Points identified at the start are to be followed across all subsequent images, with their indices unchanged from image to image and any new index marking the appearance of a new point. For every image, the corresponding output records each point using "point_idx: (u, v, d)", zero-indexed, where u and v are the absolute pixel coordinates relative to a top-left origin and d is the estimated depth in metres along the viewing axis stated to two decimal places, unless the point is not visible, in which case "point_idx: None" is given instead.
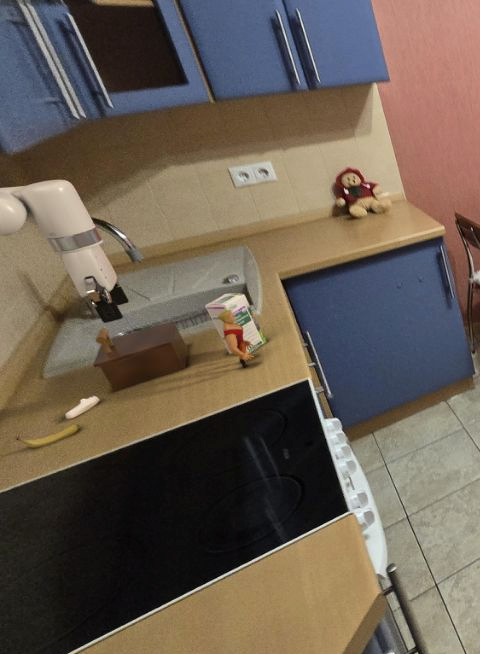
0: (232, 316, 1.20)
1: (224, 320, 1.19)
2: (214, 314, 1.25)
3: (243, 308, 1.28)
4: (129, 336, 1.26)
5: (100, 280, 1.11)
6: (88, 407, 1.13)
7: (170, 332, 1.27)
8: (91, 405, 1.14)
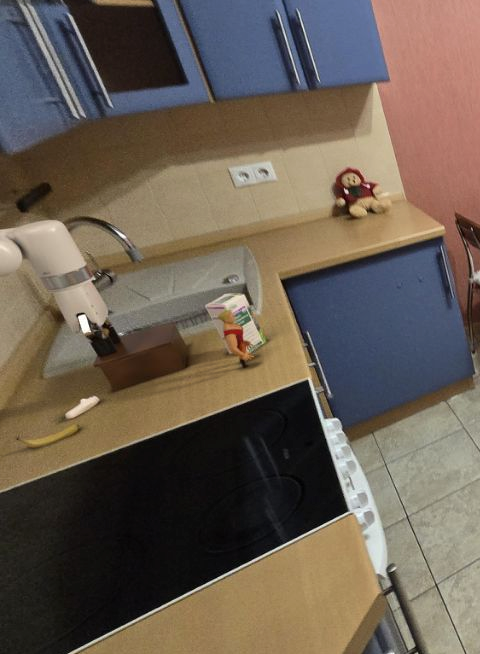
0: (232, 316, 1.20)
1: (224, 320, 1.19)
2: (214, 314, 1.25)
3: (243, 308, 1.28)
4: (129, 336, 1.26)
5: (91, 316, 1.14)
6: (88, 407, 1.13)
7: (170, 332, 1.27)
8: (91, 405, 1.14)
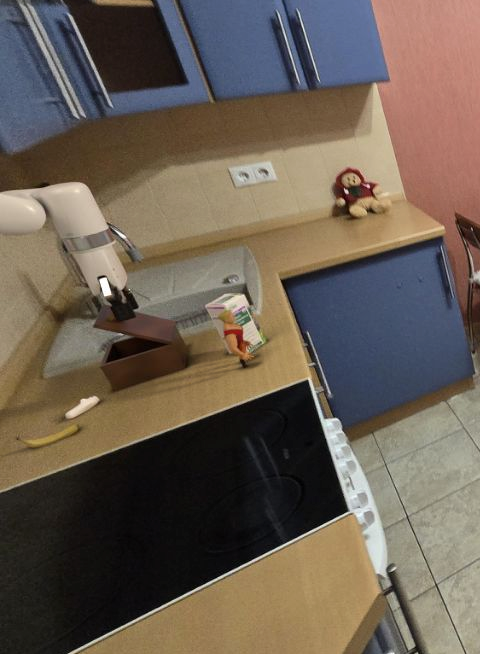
0: (232, 316, 1.20)
1: (224, 320, 1.19)
2: (214, 314, 1.25)
3: (243, 308, 1.28)
4: None
5: (112, 279, 1.14)
6: (88, 407, 1.13)
7: (172, 331, 1.27)
8: (91, 405, 1.14)
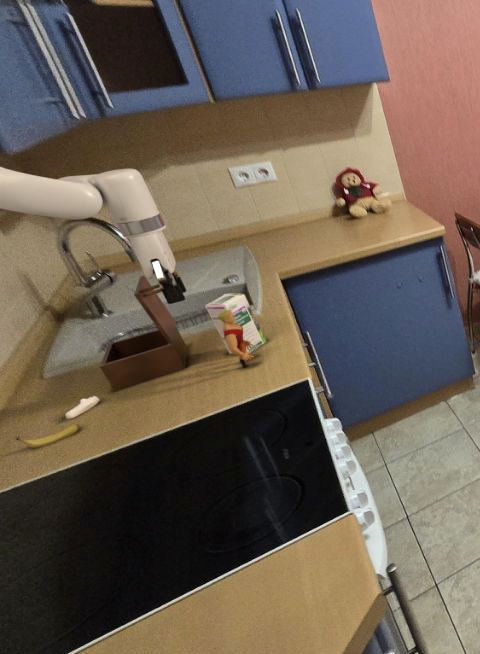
0: (232, 316, 1.20)
1: (224, 320, 1.19)
2: (214, 314, 1.25)
3: (243, 308, 1.28)
4: (156, 295, 1.27)
5: (164, 262, 1.19)
6: (88, 407, 1.13)
7: (173, 332, 1.27)
8: (91, 405, 1.14)
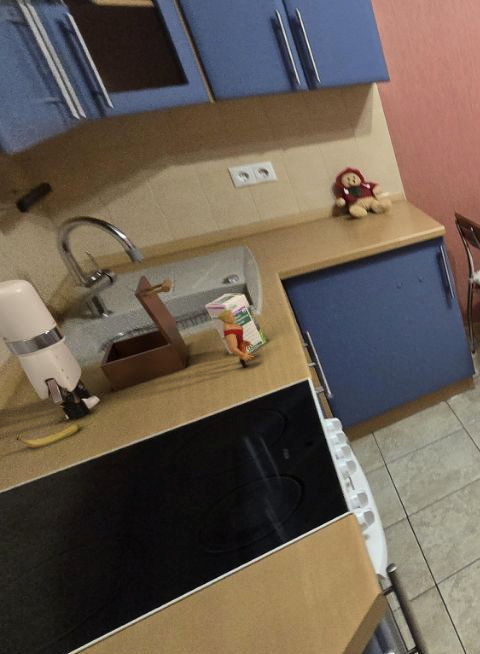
0: (232, 316, 1.20)
1: (224, 320, 1.19)
2: (214, 314, 1.25)
3: (243, 308, 1.28)
4: (156, 295, 1.27)
5: (61, 381, 1.06)
6: (88, 407, 1.13)
7: (173, 332, 1.27)
8: (91, 405, 1.14)
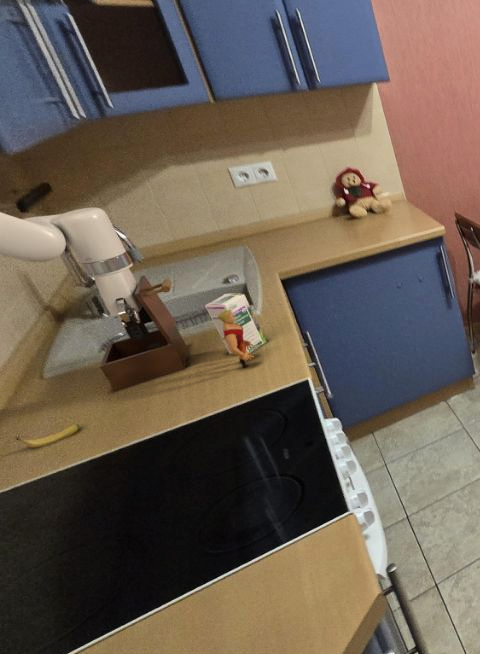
0: (232, 316, 1.20)
1: (224, 320, 1.19)
2: (214, 314, 1.25)
3: (243, 308, 1.28)
4: (156, 295, 1.27)
5: (130, 301, 1.17)
6: None
7: (173, 332, 1.27)
8: None
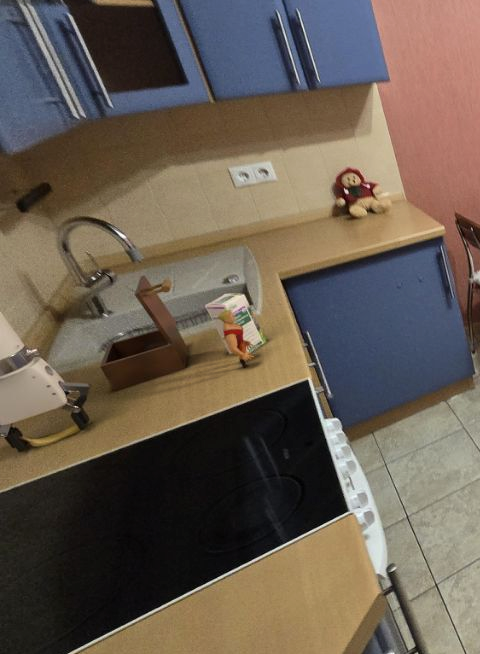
0: (232, 316, 1.20)
1: (224, 320, 1.19)
2: (214, 314, 1.25)
3: (243, 308, 1.28)
4: (156, 295, 1.27)
5: None
6: None
7: (173, 332, 1.27)
8: None
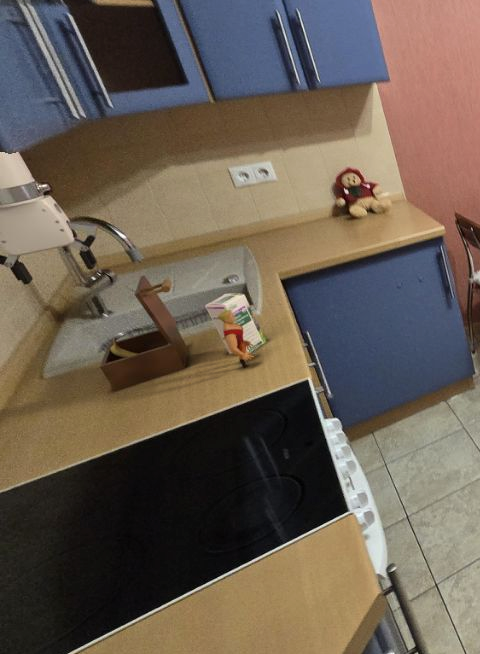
0: (232, 316, 1.20)
1: (224, 320, 1.19)
2: (214, 314, 1.25)
3: (243, 308, 1.28)
4: (156, 295, 1.27)
5: None
6: None
7: (173, 332, 1.27)
8: None
